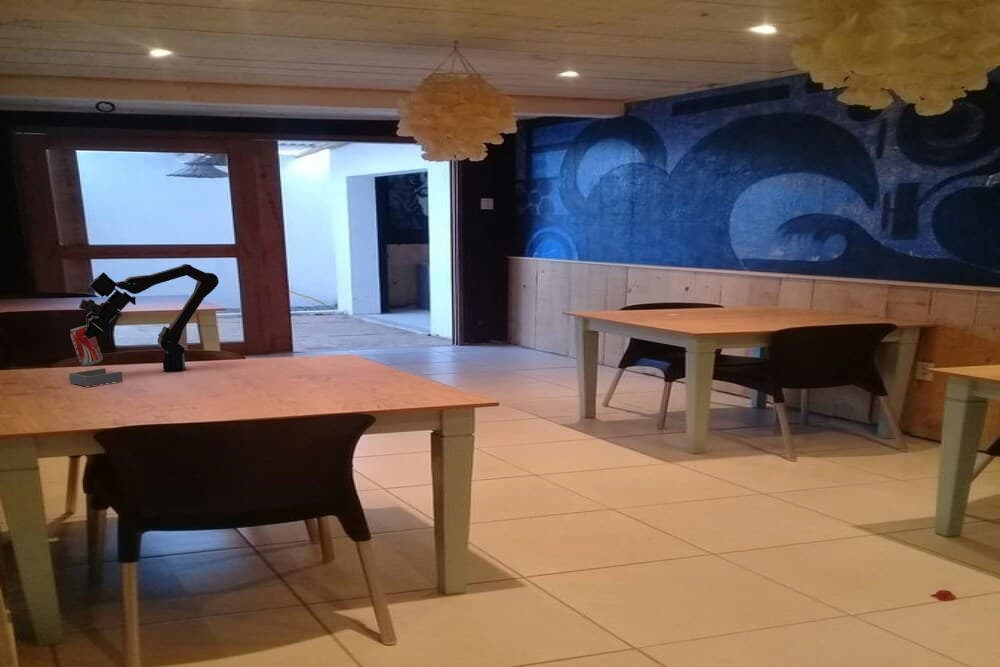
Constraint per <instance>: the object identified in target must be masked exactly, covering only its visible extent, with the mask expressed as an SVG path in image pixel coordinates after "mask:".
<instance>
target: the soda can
mask: <svg viewBox="0 0 1000 667" xmlns="http://www.w3.org/2000/svg"><path fill="white" fill-rule="evenodd" d="M87 328H88V325H87V324H85V325H82V326H78V327H75V328H72V329H70V330H69V333H70V335H69V336H70V338H71V342H72V345H73V347H74V351H75V353H76V356H77V358H78V361H79V364H80V365H81V366H83V367H87V366H92V365H95V364H99V363H101V362H102V361H103V354H102V351H101V349H100V346H99V344H98V340H97V338H96V336H95V337H92V338H90V339H88V338H87V336H86V335H84V333H85V331H86V329H87Z"/></svg>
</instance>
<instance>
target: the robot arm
mask: <svg viewBox="0 0 1000 667" xmlns="http://www.w3.org/2000/svg"><path fill="white" fill-rule="evenodd" d="M185 276H187V277H189V278H190V279H192V280H194V281H196V284H195V286H194V290H193V292H192V293H191V296H190V297H189V299H188V300H187V301H186V303H185V304H184V306H183V307H182V309H181V310H180V312H179V314H178V315H177V316H176V317H175V319H174V320H173V321H172V323H171V325H169V326H168V327H167V326H166V325H164V326H162V329H161V331H160V332H159V333H158V334H157V336H158V338H157V345H158V346H159V347H160V348H161V349H162V350H164V354H163V357H162V369H163V372H183V371H184V370H186V369H187V366H186V361H185V359H186V358H185V348H184V347H183V345H180V343H179V342H180V340H181V337H182V334H183V332H184V331H183V330H184V329H185V327H186V326H187V325H188V324H189V322H190V321H191V319H192V317H193V316H194V314H195V313H196V311H197V310H198V308H199V307H200V305H201V303H202V302H203V300H204V299H205V298H206V297H207V296H208V295H209V294H210V293H212V292H213V291H214V290H215V289H216V288H217V286H218V285H219V282H220V281H219V278H218V276H217V275H216V274H214V273H213V272H205V271H203V270H200V269H198V268H196V267H194V266H192V264H189V263H184V264H181V265H179V266H176V267H172V268H169V269H165V270H161V271H159V272H155V273H151V274H144V275H135V276H128V277H126V279H124V280H122V281H116V282H115V281H114V280H113V279H112V278H111V277H109V275H108V274H107V273H105V272H102V273H101V274H100V275H98V276H97V277H95V278H93V280H92V281H91V282H90V283H89V284H88V288H90V289H91V290H92V291H94V292H95V293H96V294H98V296H100V297H101V298H104V297H106V298H107V299H106V300H105V301H104V302H101V303H100V304H99V303H96V302H95V300H93V299H88V300H86V299H83V298H82V299H81V302H80V303H79V307H78V308H79V309H80V310H85V311H87V312H88V313H87V314H86V318H85V322H86V325H88V328H87V329H86V331H85V333H84V335H86V336H87V338H88V339H90V338H92V337H96V336H99V335H101V334H104V332H105V333H108V331H109V330H110V329H111V322H112V321H113V320H114V319H115V318H116V317H118V316H119V315H120V314H119V313H121V312H122V311H123V309H124V308H125V307H126V306H127V305H128V304H129V303H130V304H132V305H134V306H136V305H137V302H136V298H137V297H136V296H131V295H130V294H132V295H137V294H140V293H142V292H145V291H146V290H149V289H150V288H152V287H154V286H156V285H159V284H162V283H165V282H169V281H172V280H176V279H179V278H182V277H185ZM116 287H117V288H118V289H120V290H124V292H122V291H120V290H118V289H117V288H116ZM127 292H128V293H127Z"/></svg>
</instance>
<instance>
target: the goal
mask: <svg viewBox="0 0 1000 667" xmlns="http://www.w3.org/2000/svg"><path fill="white" fill-rule="evenodd" d="M106 369H107V368H105V367H104V368H97V369H96V368H95V369H91V370H83V371H77V372H76V371H75V372H69V384H71V383H73V384H72V385H75V384H78V385H77V386H79V385H83V386H93V385H100V384H106V383H112V382H118V383H120V382H119V381H123V371H114V372H110V373H109V372H108V373H107V371H106ZM112 384H113V383H112ZM106 385H107V384H106ZM83 386H82V387H83ZM100 386H101V385H100ZM93 387H94V386H93Z"/></svg>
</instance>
